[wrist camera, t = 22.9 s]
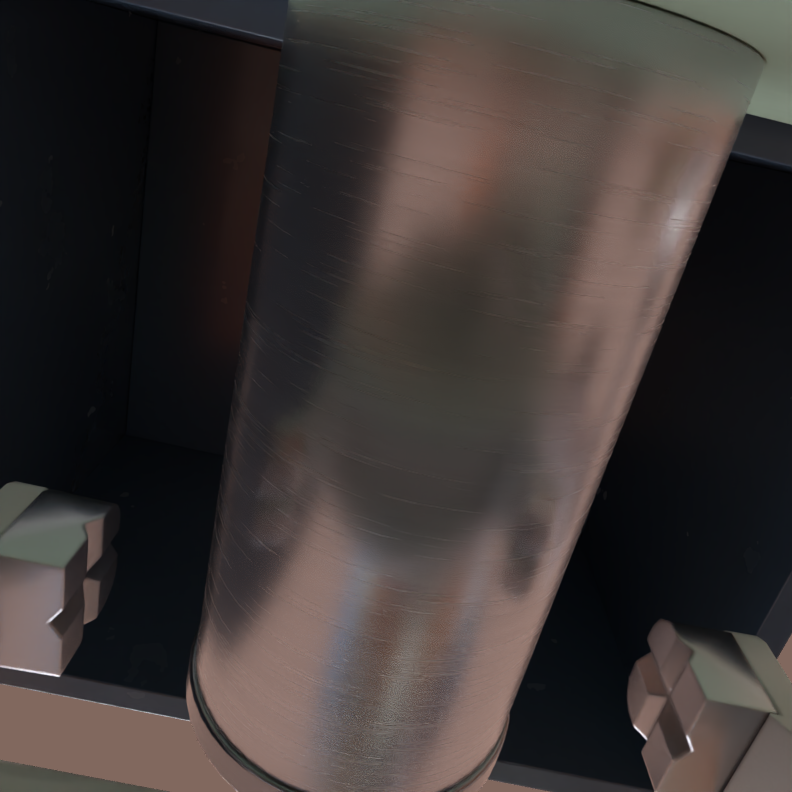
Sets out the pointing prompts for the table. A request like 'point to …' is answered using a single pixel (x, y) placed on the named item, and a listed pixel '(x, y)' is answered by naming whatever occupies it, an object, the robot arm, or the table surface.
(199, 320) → the cupboard
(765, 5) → the desk mat
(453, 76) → the steel tumbler
